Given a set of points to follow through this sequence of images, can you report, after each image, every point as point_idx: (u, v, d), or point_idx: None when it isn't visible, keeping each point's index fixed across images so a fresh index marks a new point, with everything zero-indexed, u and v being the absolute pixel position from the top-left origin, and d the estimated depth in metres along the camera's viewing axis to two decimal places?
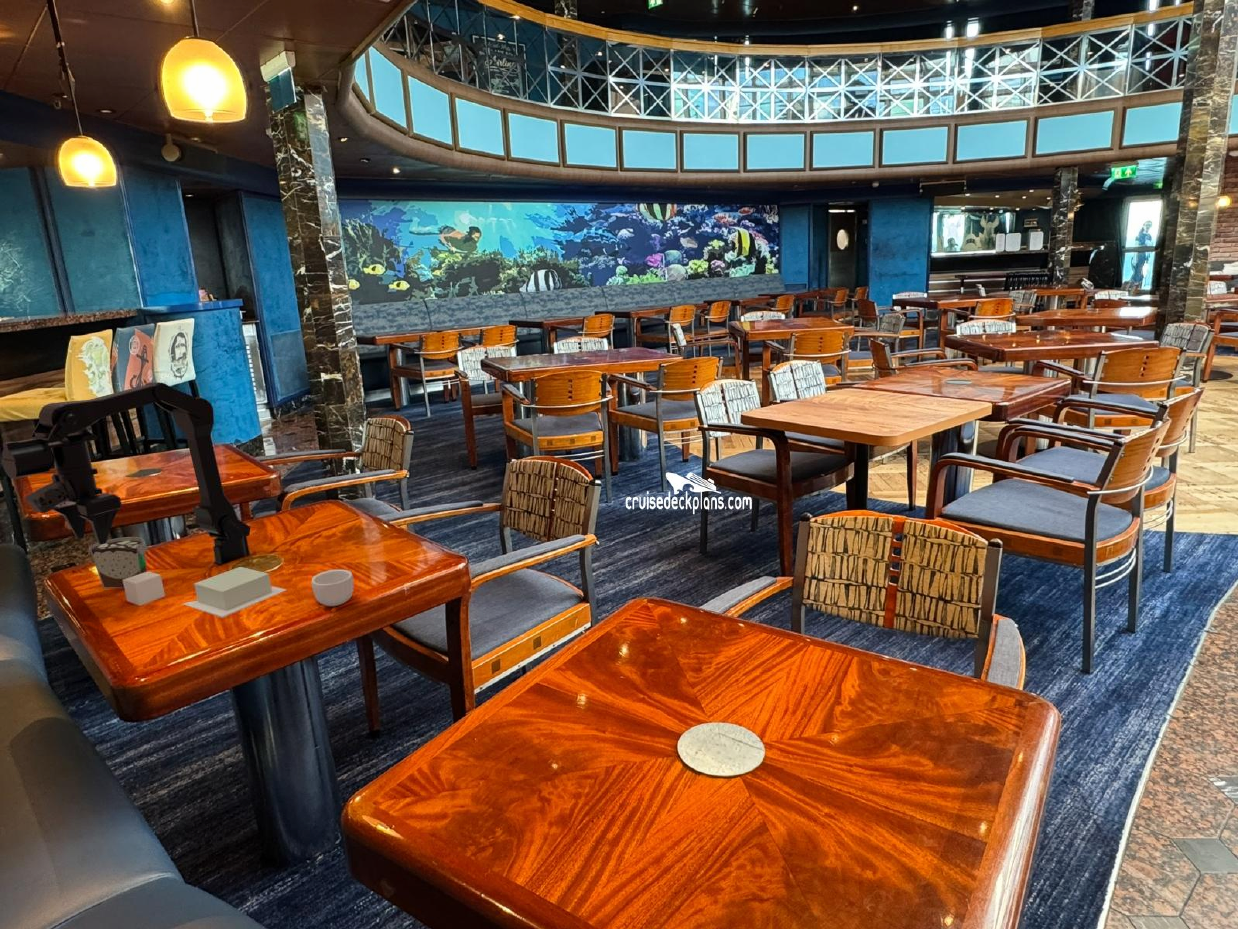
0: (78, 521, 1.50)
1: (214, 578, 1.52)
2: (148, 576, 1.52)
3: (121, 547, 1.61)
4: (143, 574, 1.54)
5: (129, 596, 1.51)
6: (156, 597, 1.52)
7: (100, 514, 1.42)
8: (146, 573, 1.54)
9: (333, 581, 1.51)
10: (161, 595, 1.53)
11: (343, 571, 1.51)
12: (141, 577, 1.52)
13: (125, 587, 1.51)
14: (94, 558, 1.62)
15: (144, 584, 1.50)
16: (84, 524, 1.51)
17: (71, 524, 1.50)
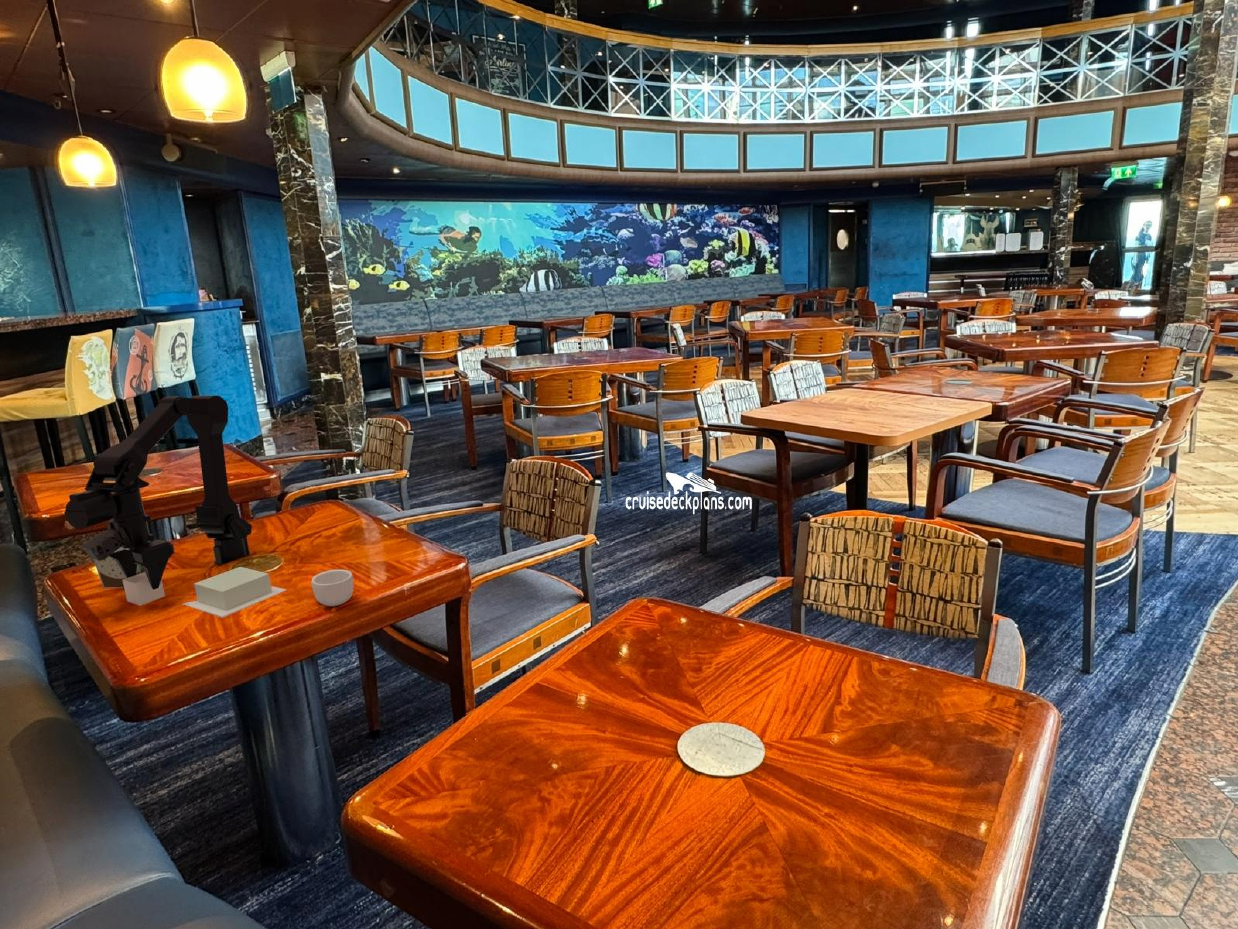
0: (129, 565, 1.54)
1: (214, 578, 1.52)
2: None
3: None
4: (143, 574, 1.54)
5: (129, 596, 1.51)
6: (156, 597, 1.52)
7: (154, 561, 1.46)
8: None
9: (333, 581, 1.51)
10: (161, 595, 1.53)
11: (343, 571, 1.51)
12: (141, 577, 1.52)
13: (125, 587, 1.51)
14: None
15: (144, 585, 1.50)
16: (135, 568, 1.55)
17: (123, 568, 1.53)
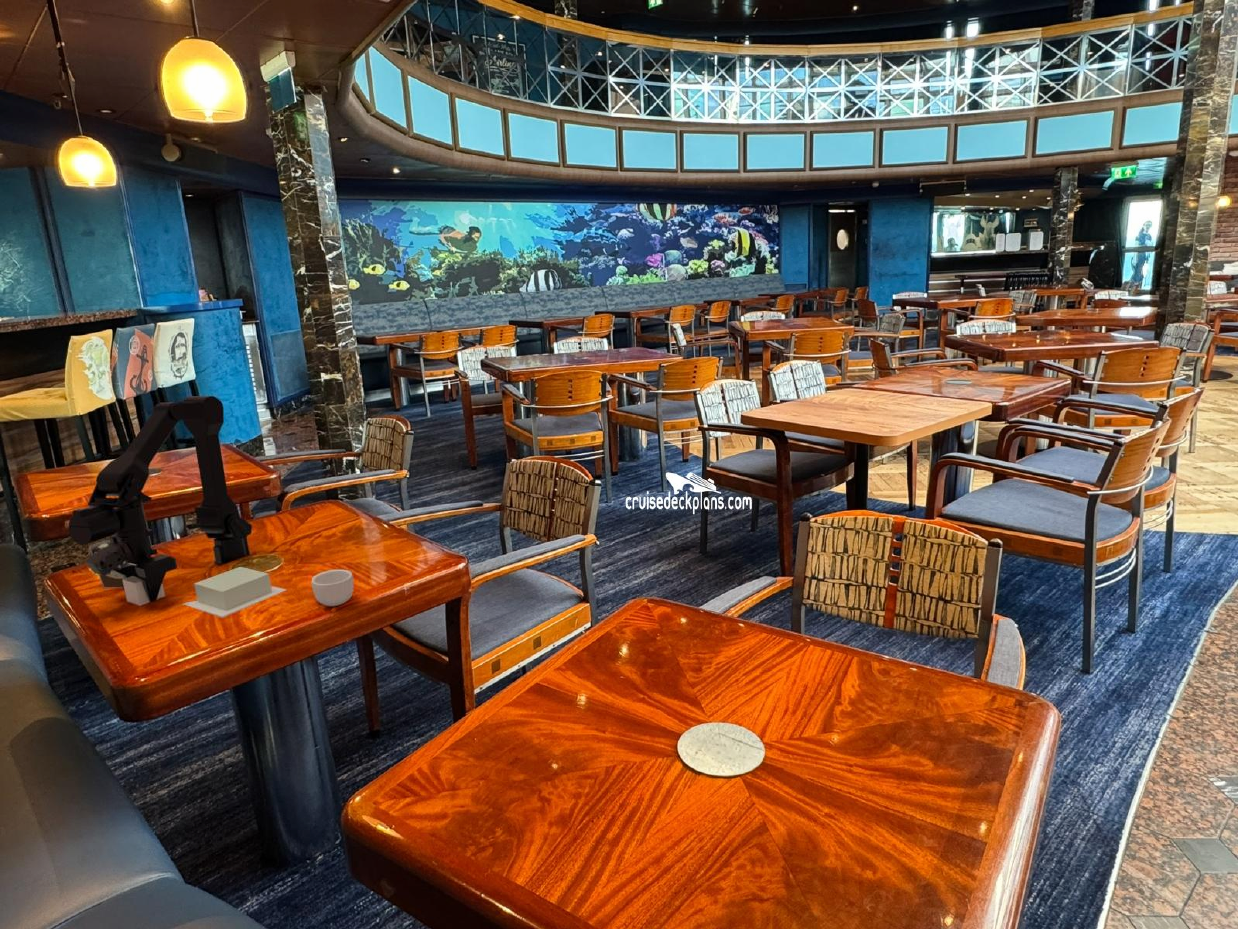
0: None
1: (214, 578, 1.52)
2: None
3: None
4: None
5: (129, 596, 1.51)
6: None
7: None
8: None
9: (333, 581, 1.51)
10: (161, 595, 1.53)
11: (343, 571, 1.51)
12: None
13: (125, 587, 1.51)
14: None
15: None
16: None
17: None
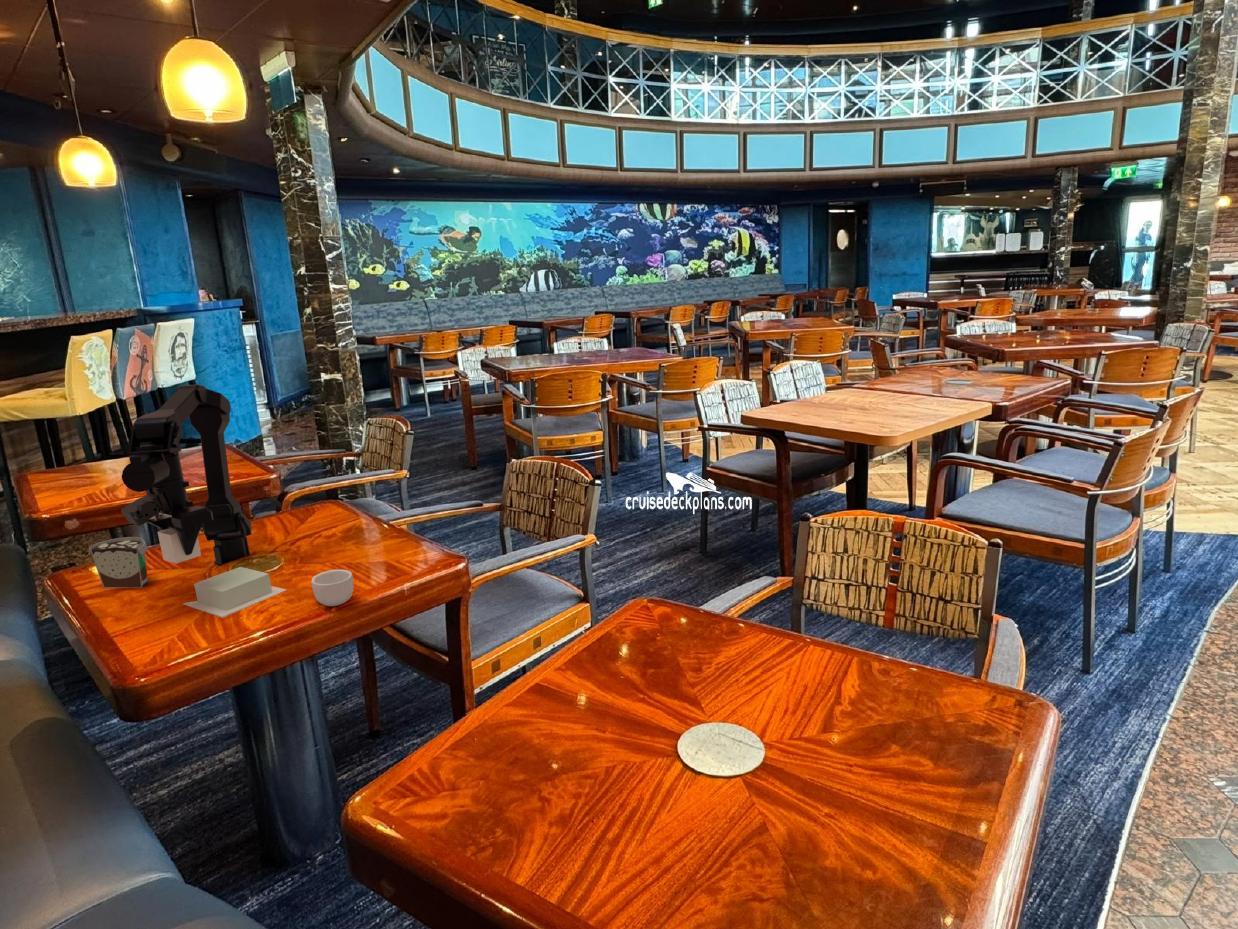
0: None
1: (214, 578, 1.52)
2: None
3: (121, 547, 1.61)
4: None
5: (164, 548, 1.48)
6: None
7: None
8: None
9: (333, 581, 1.51)
10: (196, 548, 1.50)
11: (343, 571, 1.51)
12: None
13: (160, 539, 1.48)
14: (94, 558, 1.62)
15: None
16: None
17: None
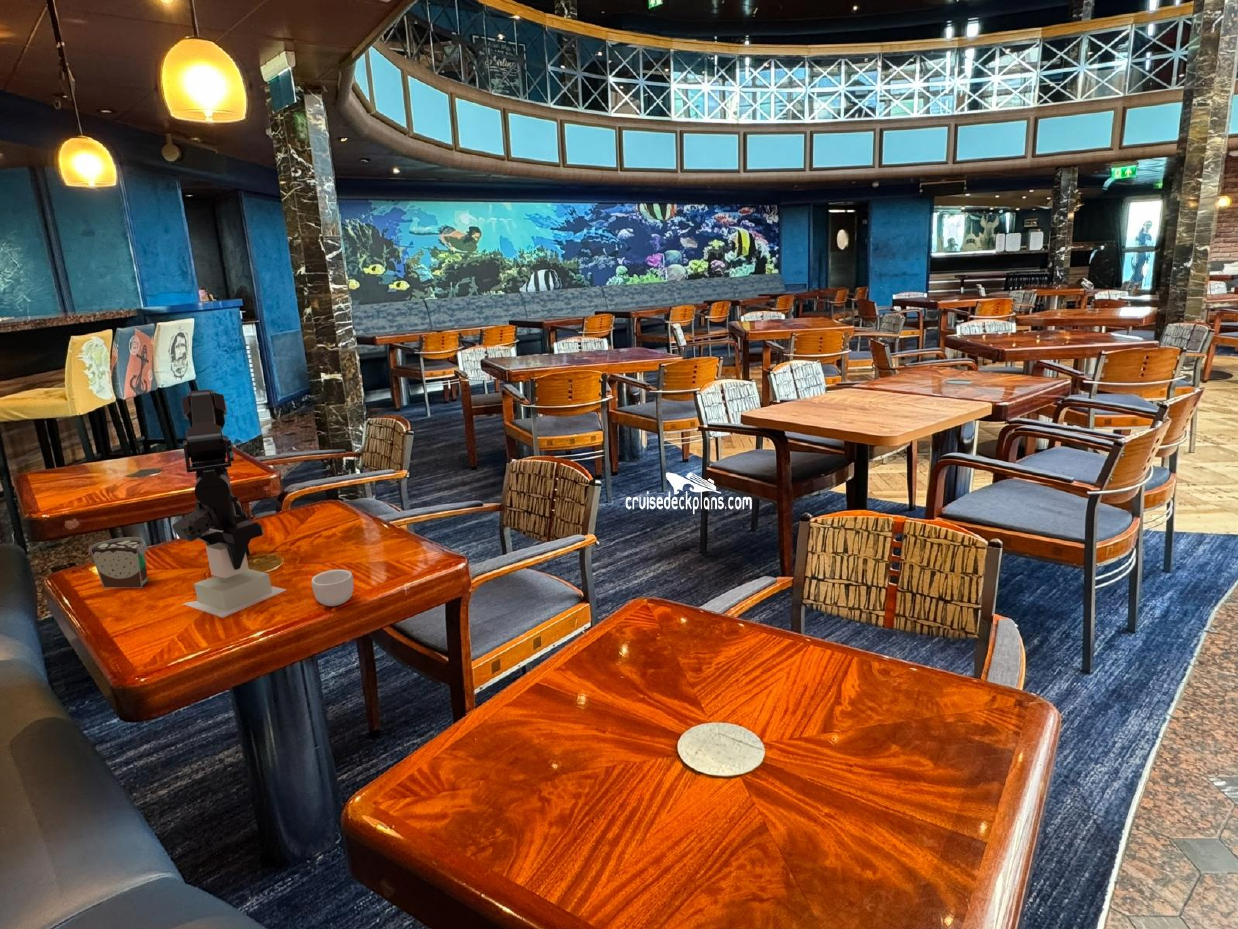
0: None
1: (214, 578, 1.52)
2: None
3: (121, 547, 1.61)
4: None
5: (212, 563, 1.48)
6: None
7: None
8: None
9: (333, 581, 1.51)
10: (244, 563, 1.50)
11: (343, 571, 1.51)
12: None
13: (208, 554, 1.48)
14: (94, 558, 1.62)
15: None
16: None
17: None
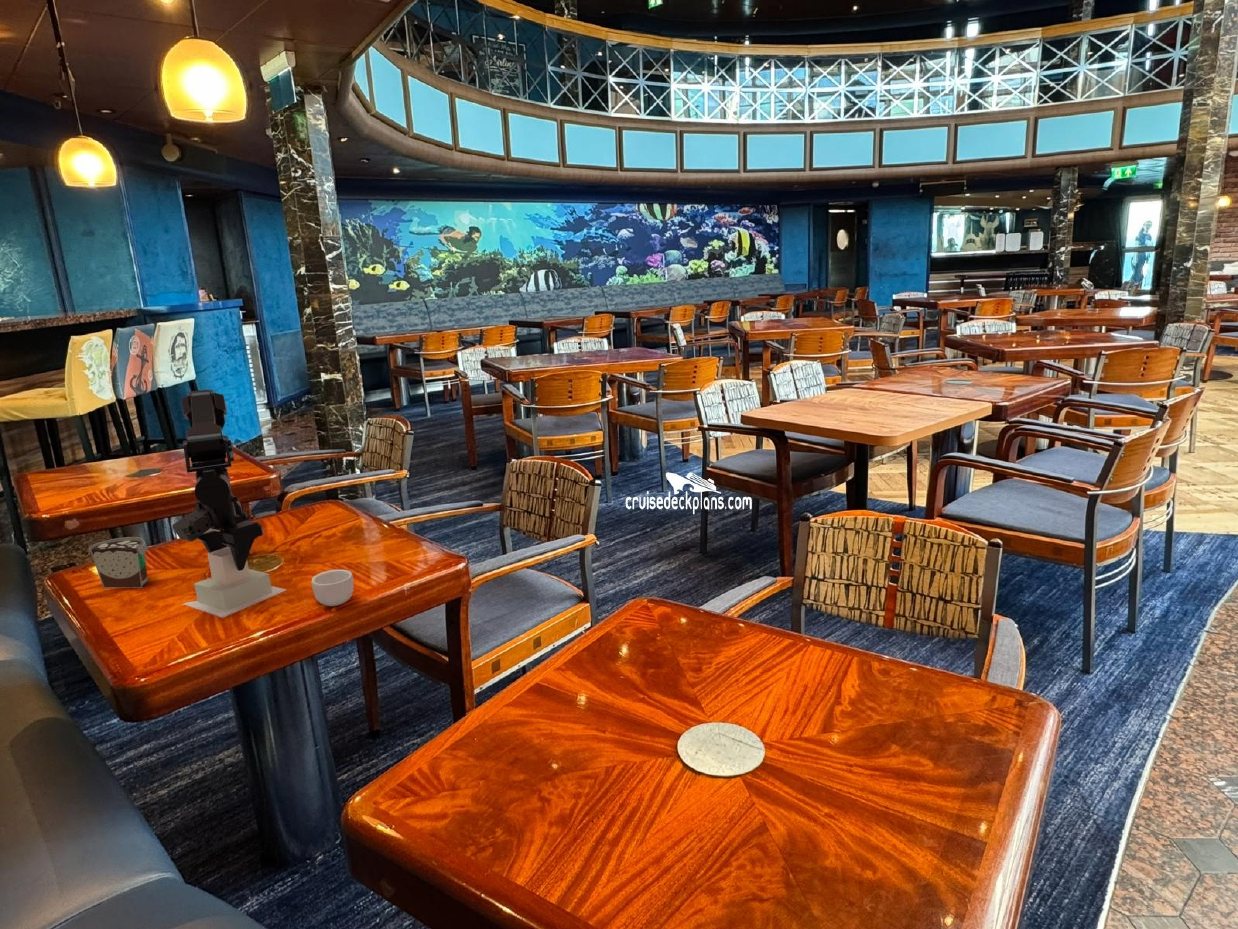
0: (216, 547, 1.52)
1: None
2: None
3: (121, 547, 1.61)
4: (227, 548, 1.51)
5: (214, 570, 1.49)
6: (240, 571, 1.50)
7: (242, 541, 1.45)
8: None
9: (333, 581, 1.51)
10: (245, 569, 1.51)
11: (343, 571, 1.51)
12: (226, 551, 1.49)
13: (210, 561, 1.49)
14: (94, 558, 1.62)
15: (230, 558, 1.48)
16: None
17: (211, 551, 1.51)
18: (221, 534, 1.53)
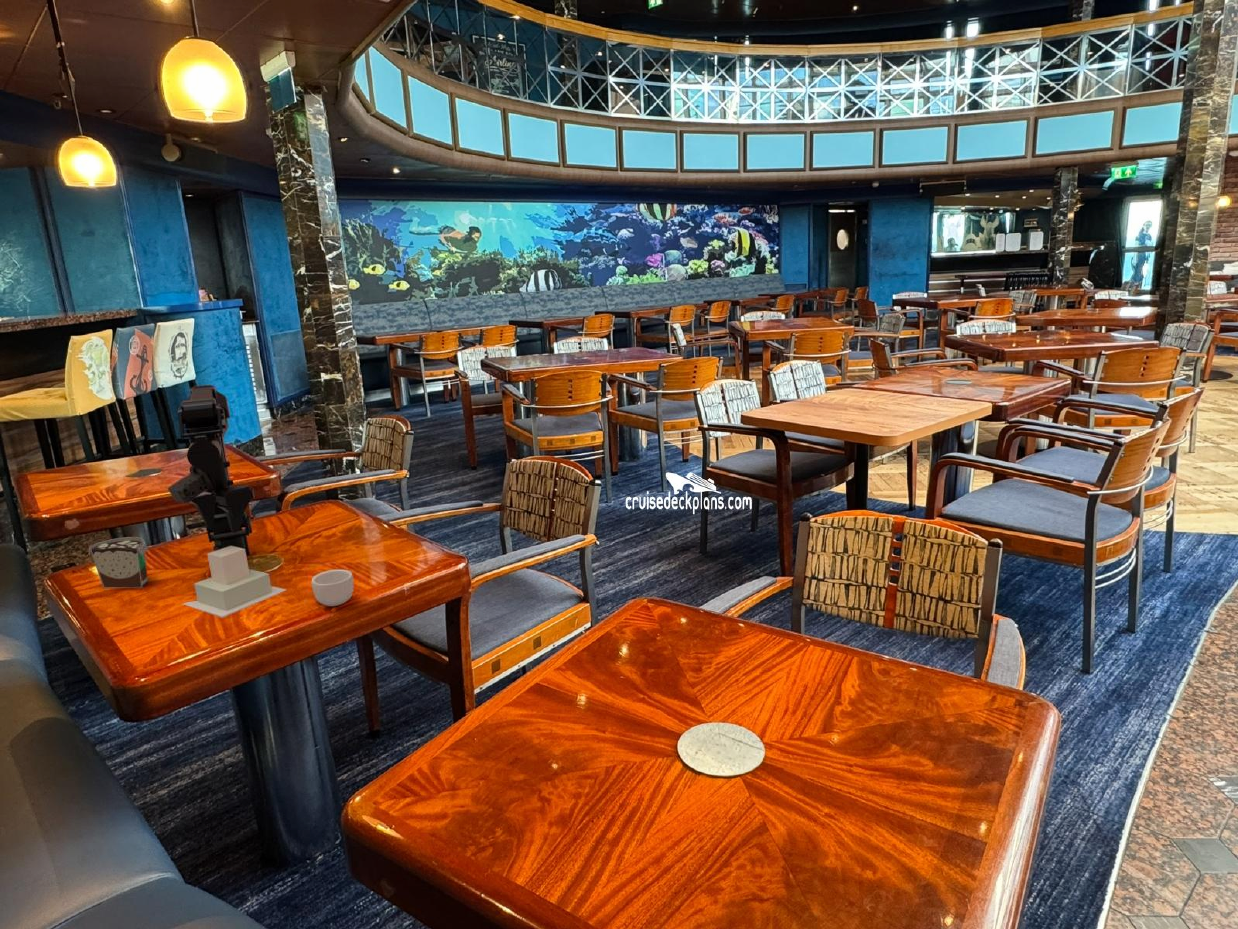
0: (208, 510, 1.60)
1: None
2: (233, 550, 1.50)
3: (121, 547, 1.61)
4: (227, 548, 1.51)
5: (214, 570, 1.49)
6: (240, 571, 1.50)
7: (236, 504, 1.52)
8: (230, 547, 1.52)
9: (333, 581, 1.51)
10: (245, 569, 1.51)
11: (343, 571, 1.51)
12: (226, 551, 1.49)
13: (210, 561, 1.49)
14: (94, 558, 1.62)
15: (230, 558, 1.48)
16: (213, 513, 1.61)
17: (202, 513, 1.59)
18: (212, 498, 1.61)
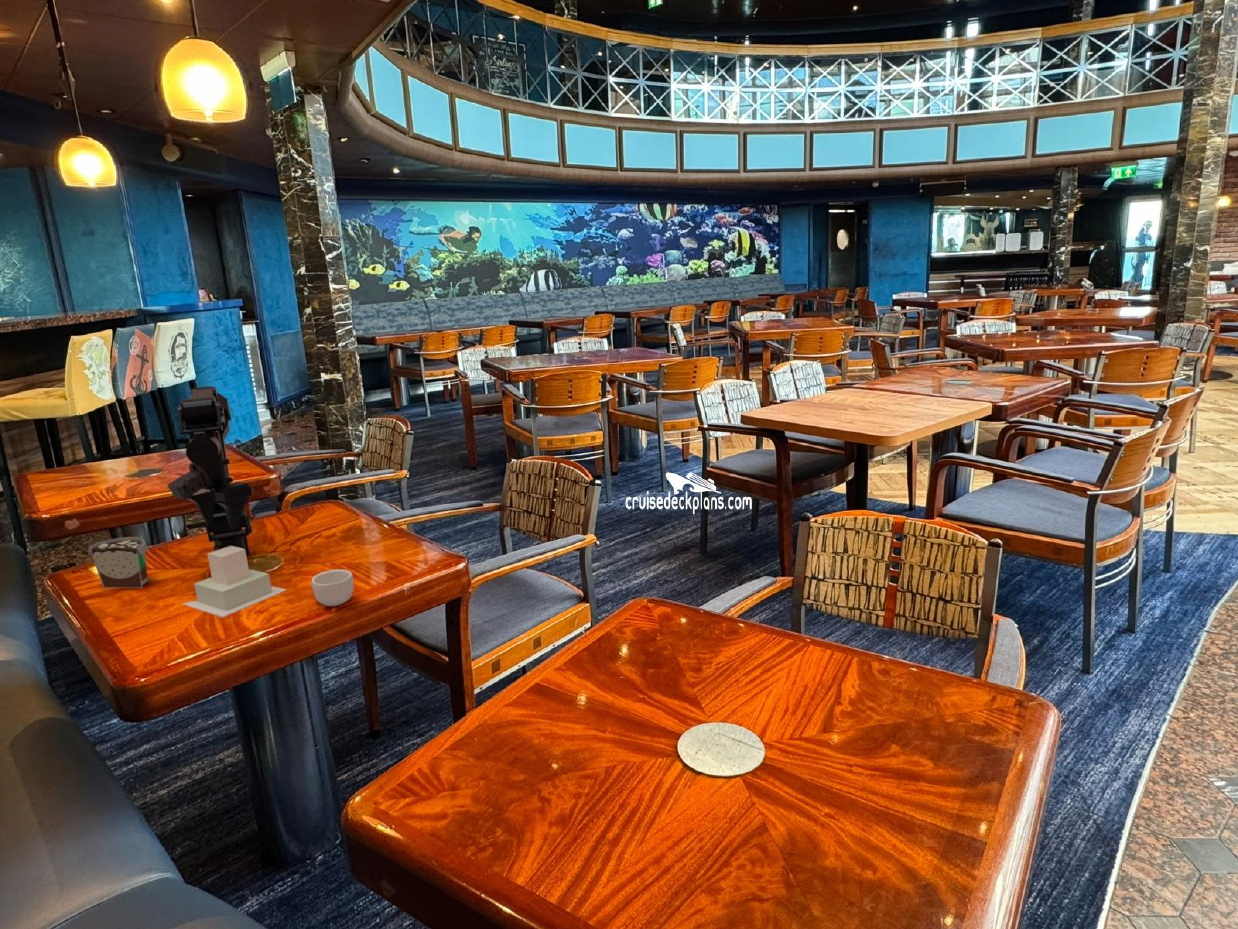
0: (207, 508, 1.61)
1: None
2: (233, 550, 1.50)
3: (121, 547, 1.61)
4: (227, 548, 1.51)
5: (214, 570, 1.49)
6: (240, 571, 1.50)
7: (235, 501, 1.53)
8: (230, 547, 1.52)
9: (333, 581, 1.51)
10: (245, 569, 1.51)
11: (343, 571, 1.51)
12: (226, 551, 1.49)
13: (210, 561, 1.49)
14: (94, 558, 1.62)
15: (230, 558, 1.48)
16: (213, 511, 1.62)
17: (202, 511, 1.60)
18: (212, 495, 1.62)
